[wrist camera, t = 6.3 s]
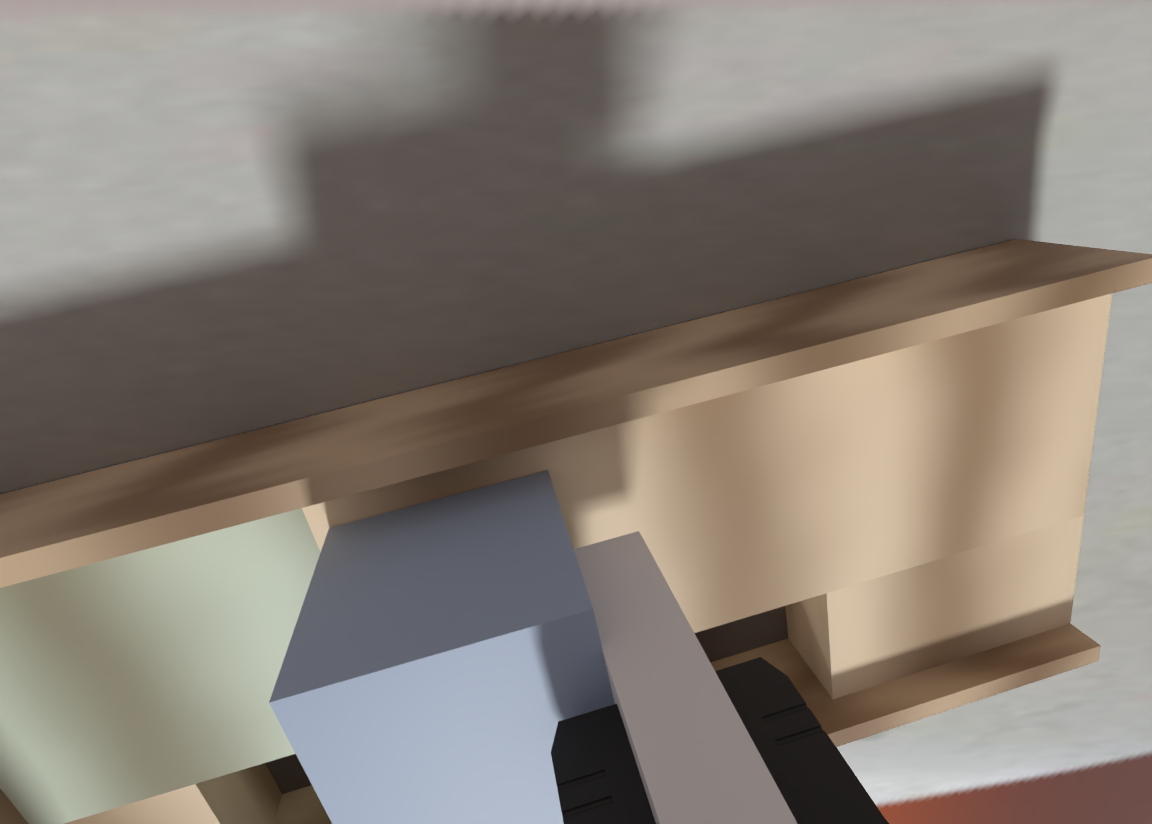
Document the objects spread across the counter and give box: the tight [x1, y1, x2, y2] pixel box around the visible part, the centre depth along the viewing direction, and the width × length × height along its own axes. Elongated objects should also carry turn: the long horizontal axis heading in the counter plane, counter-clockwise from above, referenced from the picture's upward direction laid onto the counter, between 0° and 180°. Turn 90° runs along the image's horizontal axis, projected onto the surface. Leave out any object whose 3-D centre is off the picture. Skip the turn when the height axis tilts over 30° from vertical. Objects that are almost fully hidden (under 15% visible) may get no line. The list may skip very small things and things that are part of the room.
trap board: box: [0, 239, 1152, 824], centre depth 15 cm, size 30×12×8 cm, turn 102°
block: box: [269, 470, 615, 824], centre depth 13 cm, size 5×5×5 cm
